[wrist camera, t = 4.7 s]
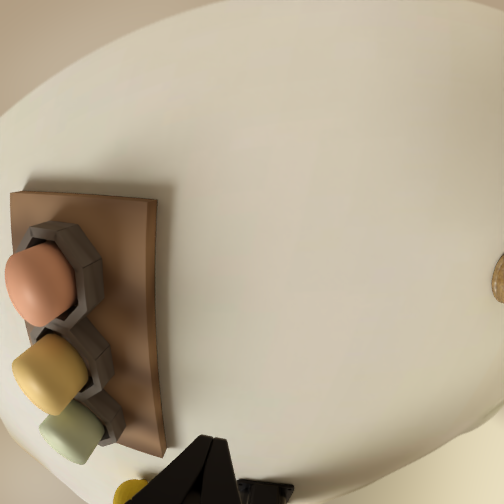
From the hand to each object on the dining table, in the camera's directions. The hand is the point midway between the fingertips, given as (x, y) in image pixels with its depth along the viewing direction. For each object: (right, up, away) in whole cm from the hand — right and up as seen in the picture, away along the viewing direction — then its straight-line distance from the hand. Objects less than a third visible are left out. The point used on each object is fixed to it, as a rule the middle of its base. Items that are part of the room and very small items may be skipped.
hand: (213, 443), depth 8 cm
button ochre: (-14, -3, +11) cm, 18 cm away
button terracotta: (-13, +4, +11) cm, 17 cm away
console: (-13, -2, +14) cm, 20 cm away
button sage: (-14, -9, +13) cm, 21 cm away
